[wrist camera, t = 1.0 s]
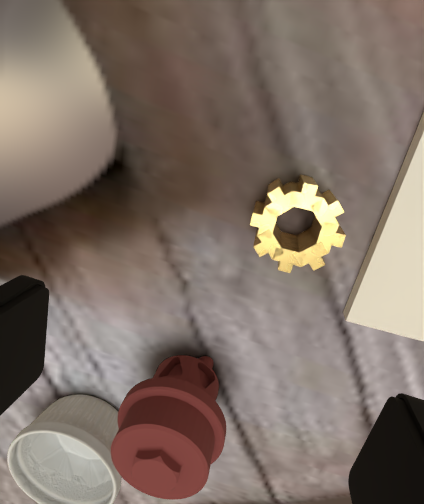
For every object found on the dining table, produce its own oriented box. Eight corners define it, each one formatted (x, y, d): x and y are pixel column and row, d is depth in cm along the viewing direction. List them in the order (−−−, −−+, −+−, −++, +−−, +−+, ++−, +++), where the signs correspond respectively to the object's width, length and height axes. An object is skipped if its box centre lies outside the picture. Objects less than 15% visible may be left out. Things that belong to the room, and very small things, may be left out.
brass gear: (264, 166, 29) (262, 173, 25) (348, 185, 29) (360, 195, 24) (245, 242, 32) (241, 260, 28) (321, 261, 31) (328, 282, 27)
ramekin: (81, 366, 41) (45, 411, 35) (161, 436, 43) (140, 491, 36) (27, 416, 46) (-14, 464, 39) (100, 477, 48) (72, 532, 41)
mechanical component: (221, 418, 40) (140, 390, 41) (246, 351, 36) (156, 321, 37) (199, 536, 28) (87, 494, 29) (231, 456, 25) (102, 410, 25)
